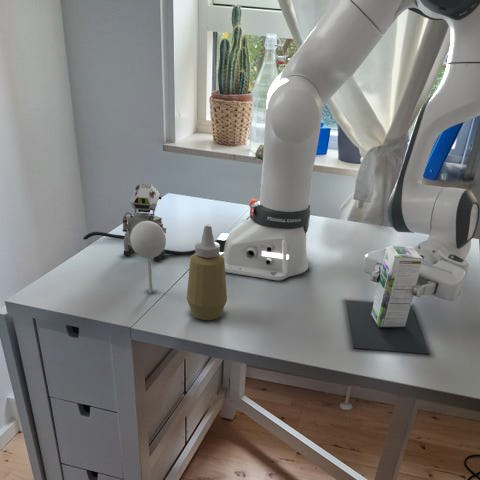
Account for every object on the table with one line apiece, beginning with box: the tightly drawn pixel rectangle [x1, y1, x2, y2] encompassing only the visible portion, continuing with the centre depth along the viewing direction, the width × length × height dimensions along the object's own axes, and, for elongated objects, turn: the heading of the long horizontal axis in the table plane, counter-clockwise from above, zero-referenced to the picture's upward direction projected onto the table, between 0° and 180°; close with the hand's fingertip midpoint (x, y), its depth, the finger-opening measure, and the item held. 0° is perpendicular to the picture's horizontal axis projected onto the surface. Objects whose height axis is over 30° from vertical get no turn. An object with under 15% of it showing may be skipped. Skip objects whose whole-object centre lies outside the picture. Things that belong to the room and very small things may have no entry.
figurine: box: [122, 183, 167, 262], centre depth 133 cm, size 9×12×15 cm
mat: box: [345, 300, 429, 355], centre depth 114 cm, size 14×20×1 cm
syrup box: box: [372, 245, 423, 327], centre depth 110 cm, size 6×6×14 cm
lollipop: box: [130, 221, 167, 294], centre depth 116 cm, size 7×7×15 cm
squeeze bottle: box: [186, 223, 228, 321], centre depth 109 cm, size 8×8×18 cm
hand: (394, 285), depth 109 cm, fingers closed on syrup box, 7 cm apart
